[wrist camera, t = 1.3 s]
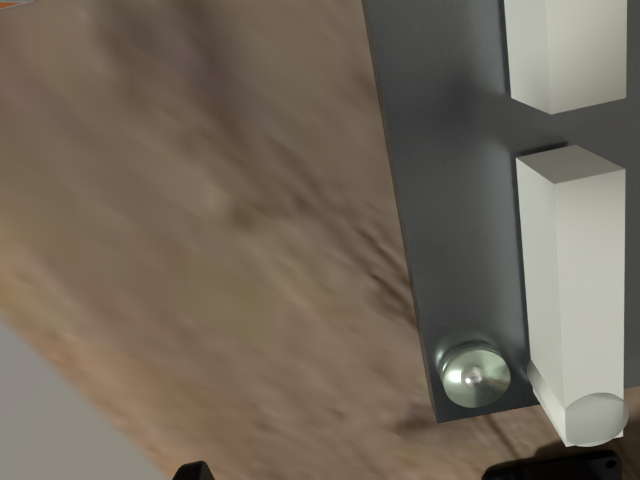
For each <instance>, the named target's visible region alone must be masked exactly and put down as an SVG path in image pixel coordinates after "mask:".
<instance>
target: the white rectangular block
mask: <svg viewBox="0 0 640 480" xmlns="http://www.w3.org/2000/svg"><path fill="white" fill-rule="evenodd" d="M516 167H517V180H518V194H519V207H520V220H521V234H522V247H523V261H524V274H525V288H526V301H527V314H528V328H529V341H530V355H531V359H530V361H529V363H528V366H527V377H528V379H529V381H530V383H531V385H532V386H533V392H534V394H535V396H536V397H537V399H538V401H539V402H540V404H541V406H542V407H543V409H544V411H545V412H546V414H547V416H548V417H549V419H550V421H551V422H552V424H553V426H554V427H555V429H556V431H557V432H558V434H559V436H560V437H561V439H562V441H563V442H564V444H565V446H566V447H568V446H574V445H577V446H583V447H590V446H597V445H600V444H603V443H606V442H608V441H610V440H612V439H613V438H618V437H623V429H624V427H625V426H626V424H627V421H628V418H629V409H628V406H627V404H626V403H625V401H624V400H623V380H624V272H625V169H624V168H622V167H620V166H618V165H616V164H614V163H612V162H610V161H608V160H606V159H604V158H602V157H600V156H598V155H596V154H594V153H592V152H590V151H588V150H586V149H584V148H582V147H579V146H577V145H572V146H567V147H563V148H558V149H554V150H549V151H544V152H540V153H535V154H530V155H526V156H521V157H517V158H516Z"/></svg>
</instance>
